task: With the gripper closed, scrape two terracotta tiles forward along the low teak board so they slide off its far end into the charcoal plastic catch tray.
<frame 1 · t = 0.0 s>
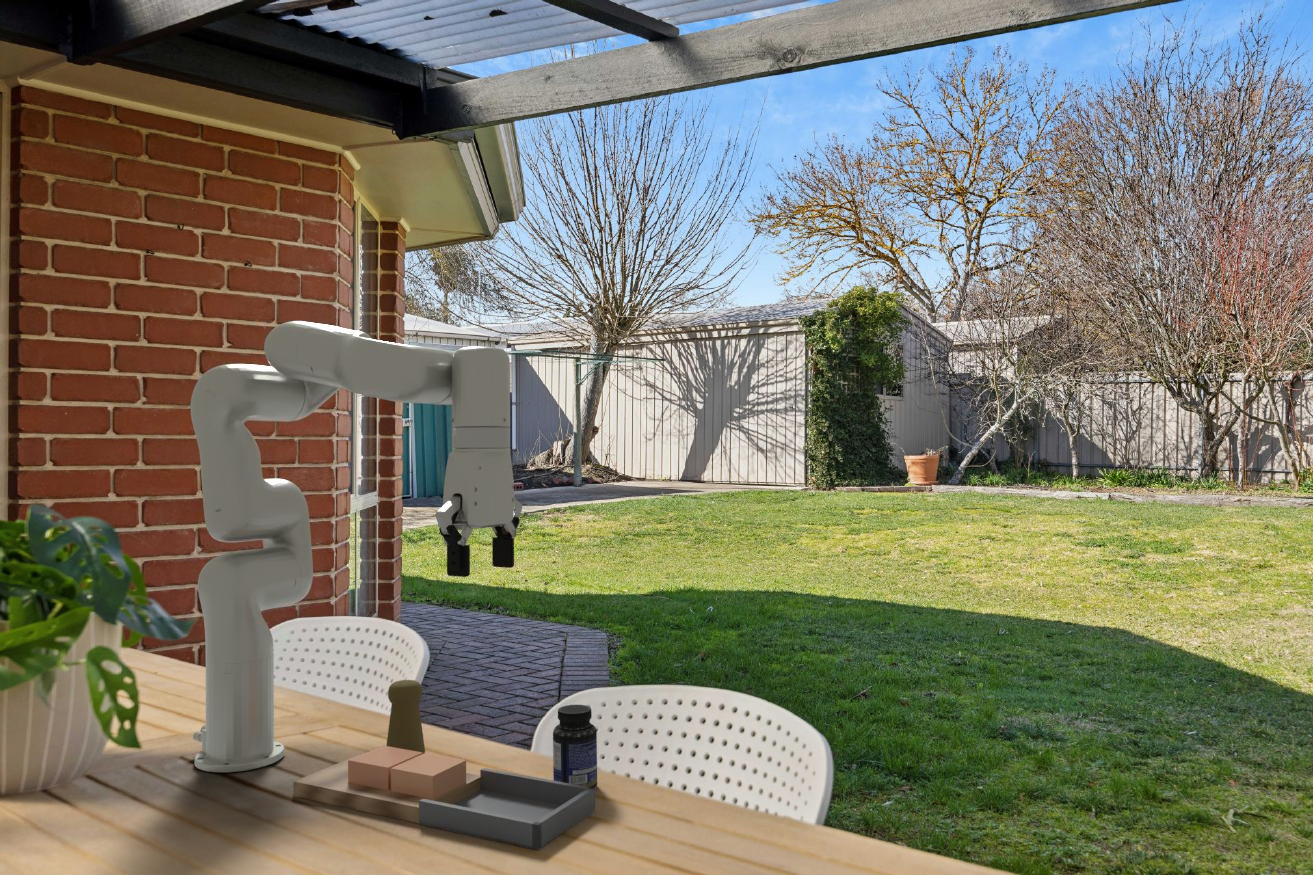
hand: (481, 571, 128), 31 cm above the table, tool pointing down, fingers open, 9 cm apart
tray: (508, 817, 125), on the table
tile rear: (385, 777, 134), point 2 cm above the table, touching board
pill bottle: (575, 789, 136), on the table
tile front: (429, 786, 131), point 2 cm above the table, touching board
cork: (405, 752, 152), on the table
board: (388, 793, 134), on the table
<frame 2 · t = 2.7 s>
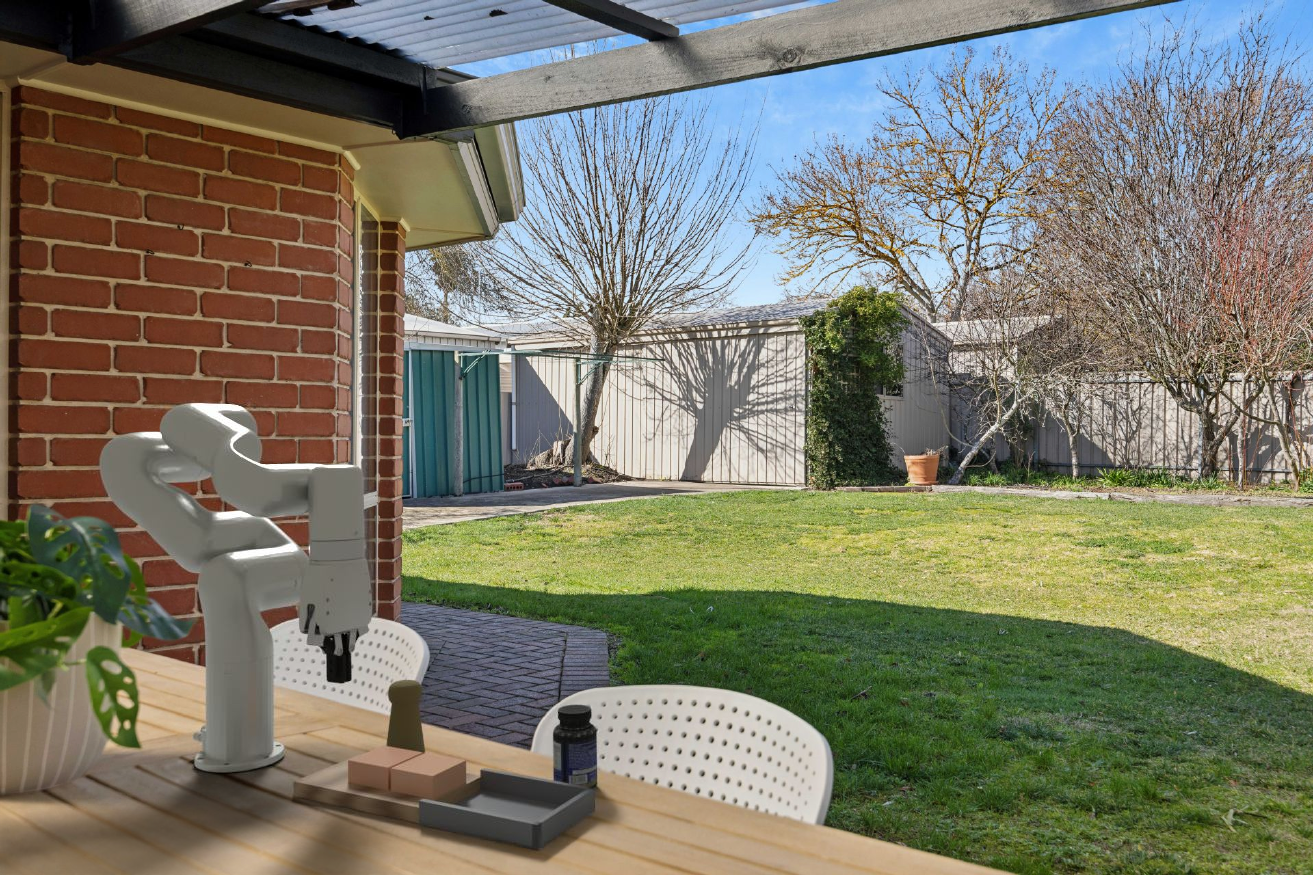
hand: (339, 681, 138), 14 cm above the table, tool pointing down, fingers closed
nothing on the table moved.
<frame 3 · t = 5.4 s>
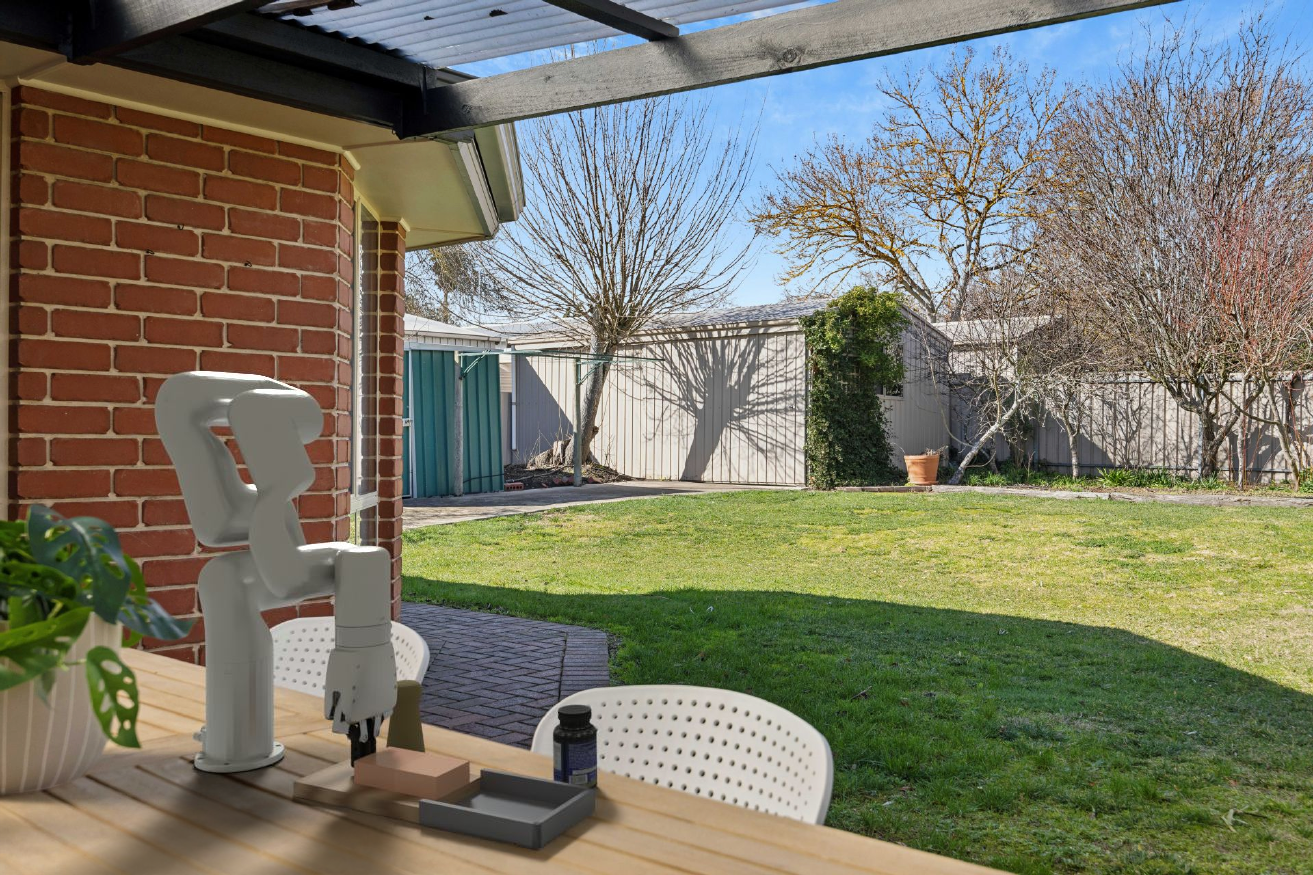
hand: (363, 766, 136), 3 cm above the table, tool pointing down, fingers closed
tile rear: (391, 778, 134), point 2 cm above the table, touching gripper
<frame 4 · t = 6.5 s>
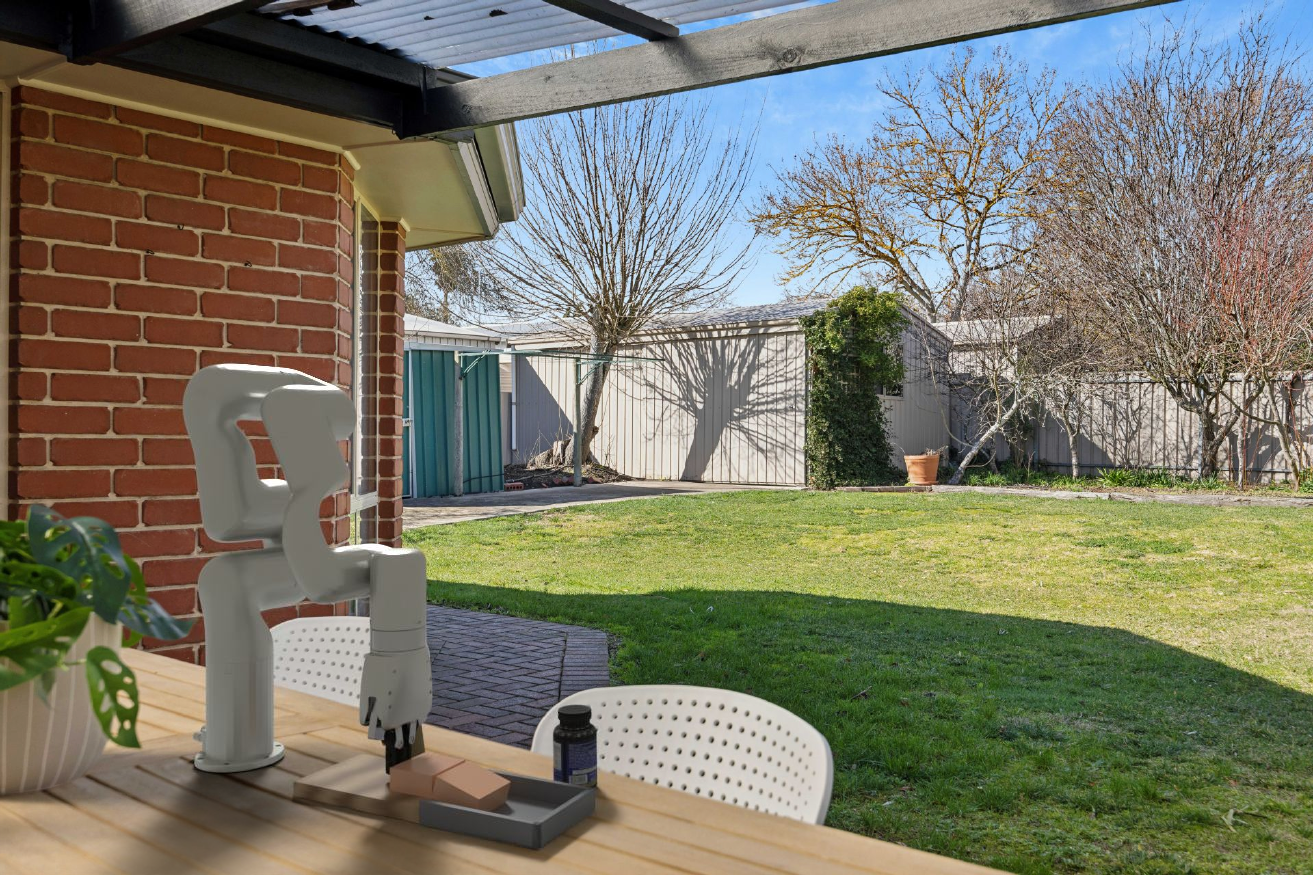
hand: (398, 773, 133), 3 cm above the table, tool pointing down, fingers closed
tile rear: (428, 785, 131), point 2 cm above the table, touching gripper, tile front
tile front: (469, 800, 128), point 1 cm above the table, tilted 16°, touching tile rear
everything else where it was.
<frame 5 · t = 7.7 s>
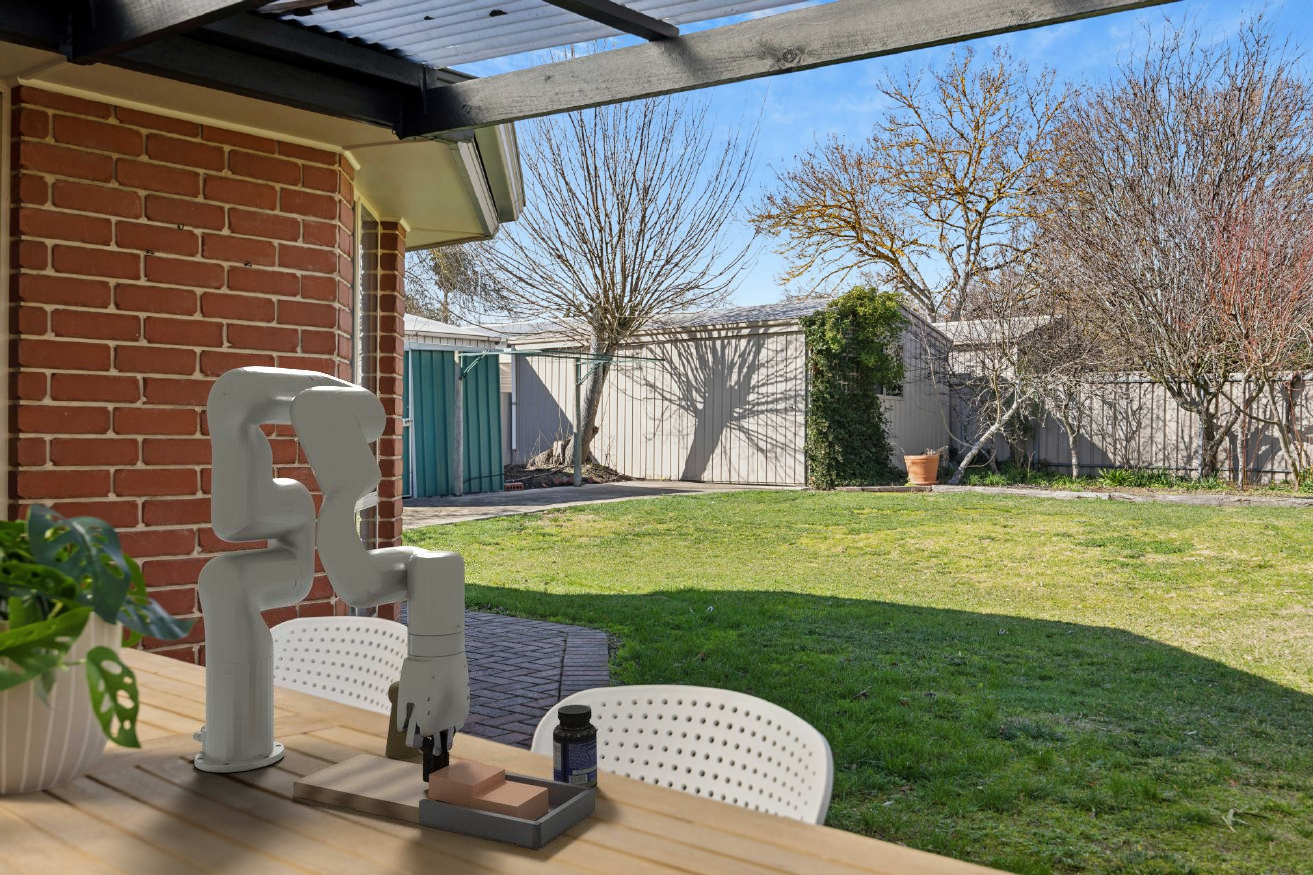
hand: (435, 781, 130), 3 cm above the table, tool pointing down, fingers closed
tile rear: (466, 794, 128), point 2 cm above the table, touching gripper, tile front
tile front: (510, 816, 125), resting on tray, touching tile rear
everything else where it was.
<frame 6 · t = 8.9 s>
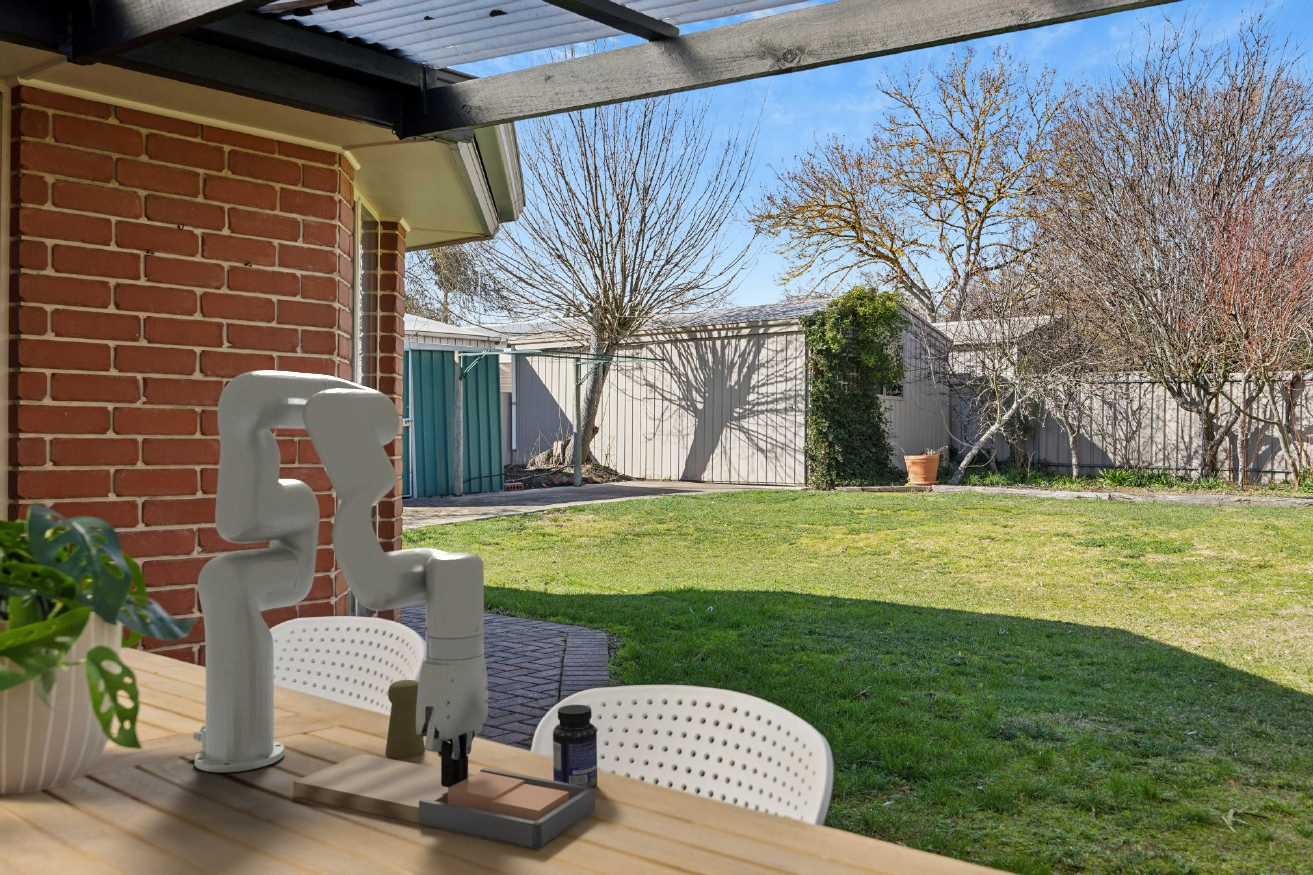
hand: (454, 785, 129), 3 cm above the table, tool pointing down, fingers closed
tile rear: (486, 807, 127), point 1 cm above the table, touching gripper, tile front
tile front: (530, 820, 123), resting on tray, touching tile rear
everything else where it was.
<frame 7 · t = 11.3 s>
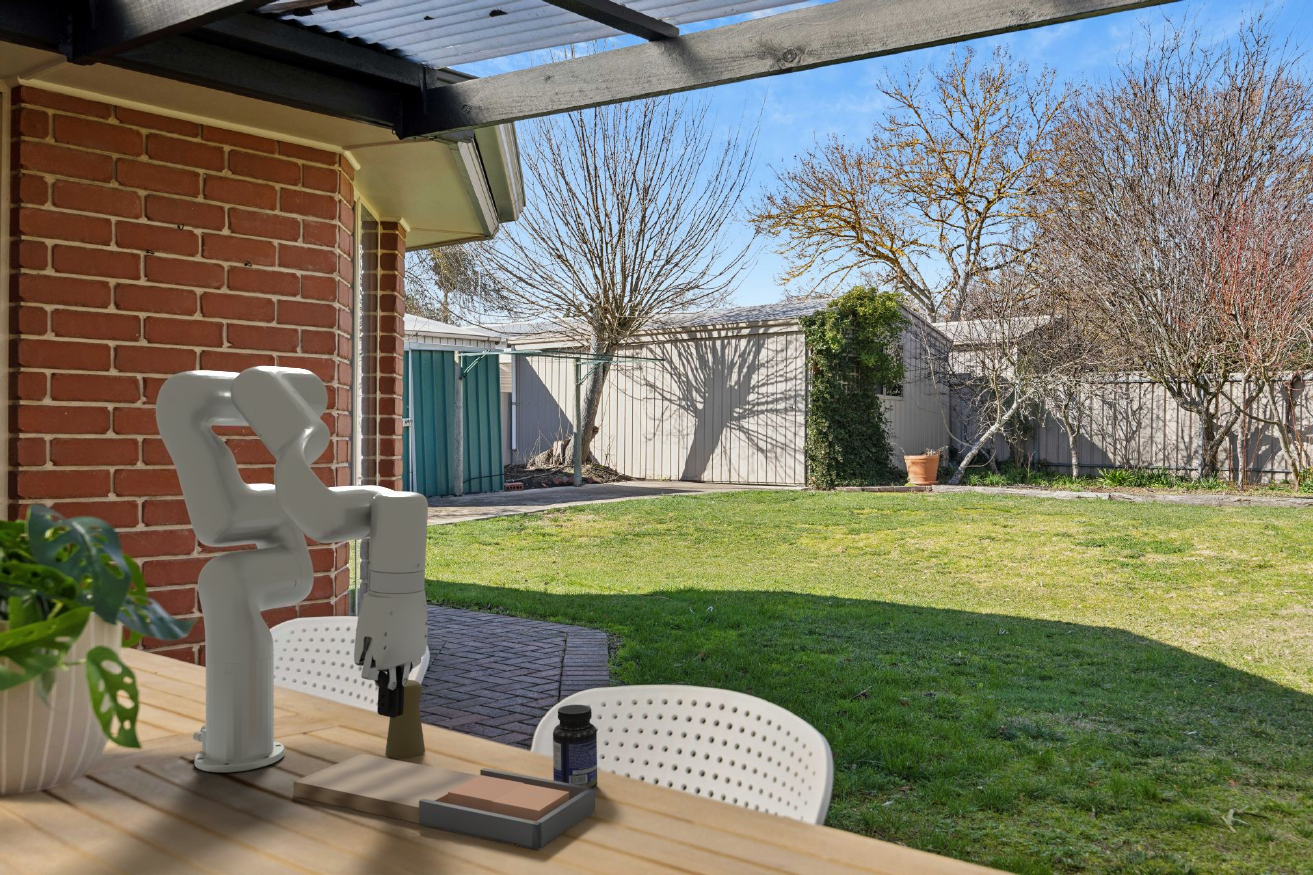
hand: (390, 714, 134), 11 cm above the table, tool pointing down, fingers closed
tile rear: (486, 810, 127), resting on tray
tile front: (531, 820, 123), resting on tray
everything else where it was.
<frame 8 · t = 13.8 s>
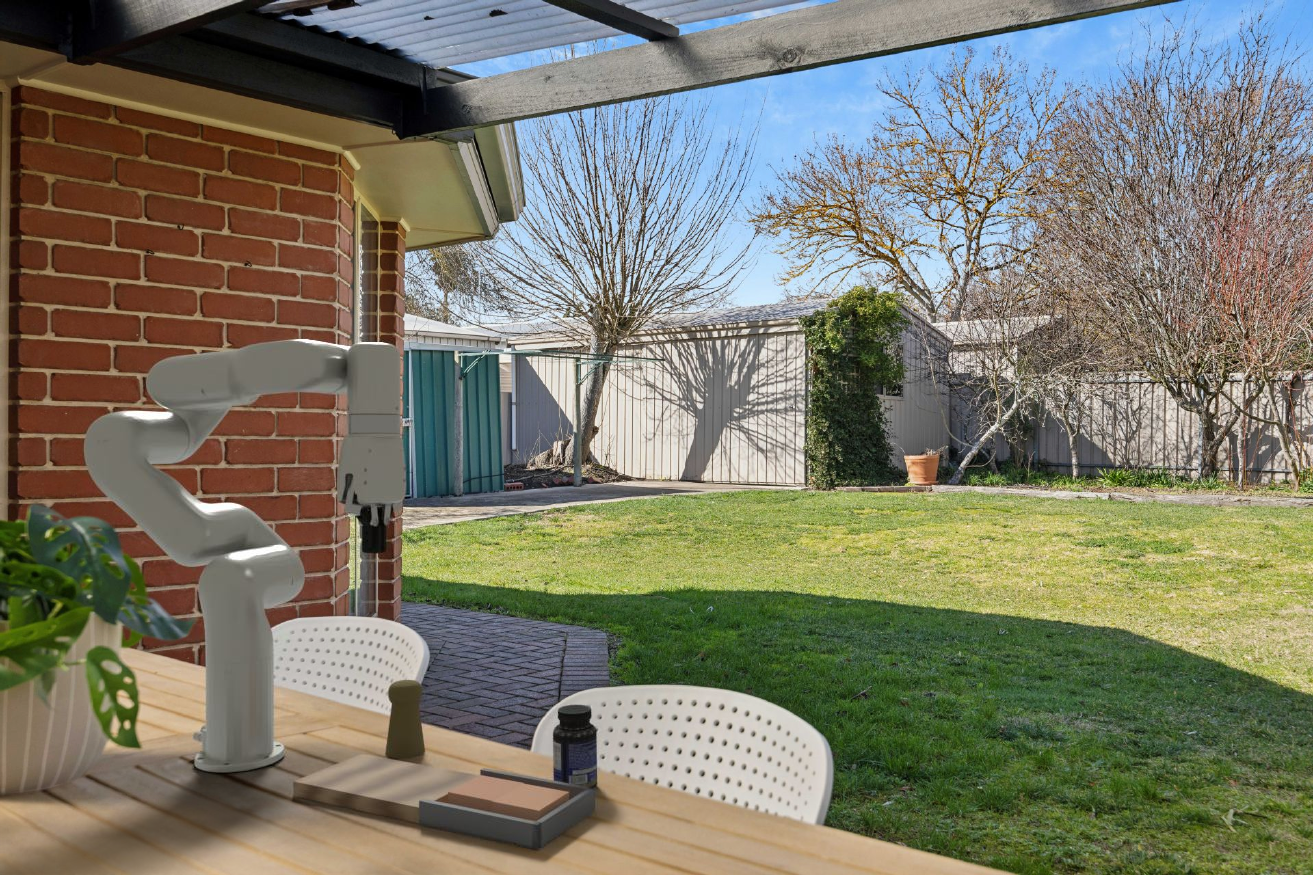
hand: (374, 552, 143), 32 cm above the table, tool pointing down, fingers closed
nothing on the table moved.
at the end: tile front inside the target area (3.4 cm from its centre), resting on tray; tile rear inside the target area (3.6 cm from its centre), resting on tray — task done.
